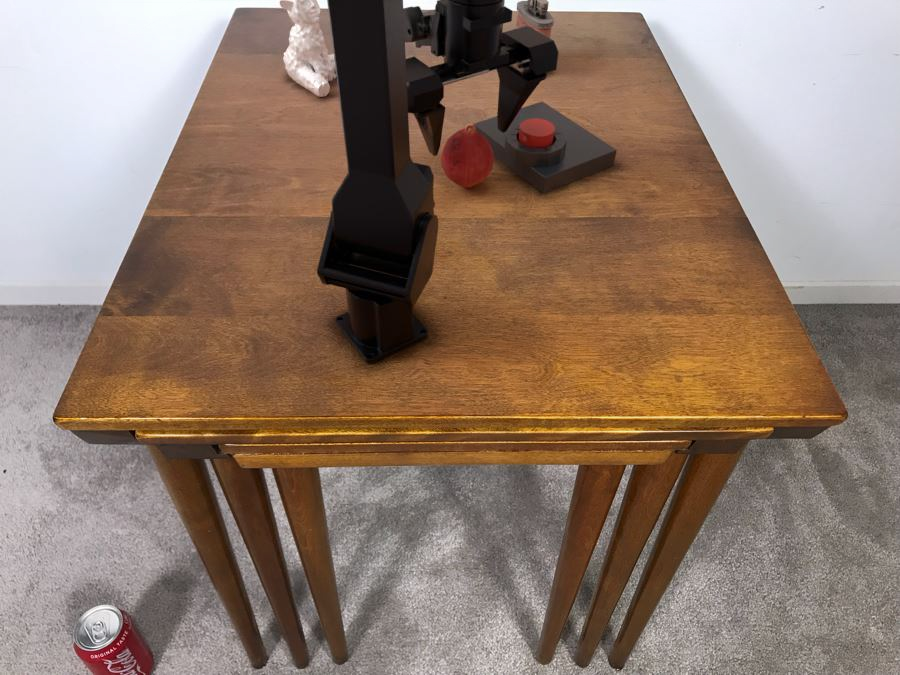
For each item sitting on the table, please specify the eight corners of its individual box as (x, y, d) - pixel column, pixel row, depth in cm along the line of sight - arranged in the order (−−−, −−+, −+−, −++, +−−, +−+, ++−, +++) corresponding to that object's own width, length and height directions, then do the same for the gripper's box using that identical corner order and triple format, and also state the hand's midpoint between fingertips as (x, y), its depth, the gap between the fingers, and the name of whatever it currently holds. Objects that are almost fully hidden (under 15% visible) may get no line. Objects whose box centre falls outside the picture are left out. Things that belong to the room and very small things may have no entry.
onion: (448, 204, 80) (450, 140, 74) (435, 176, 84) (435, 113, 78) (497, 197, 81) (503, 133, 75) (482, 170, 85) (486, 107, 79)
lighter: (552, 73, 103) (561, 1, 96) (531, 77, 102) (539, 5, 95) (528, 50, 108) (535, -20, 101) (507, 53, 107) (513, -17, 100)
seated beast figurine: (323, 100, 96) (313, 8, 87) (269, 87, 98) (253, -4, 90) (357, 71, 102) (351, -17, 93) (305, 59, 104) (294, -28, 96)
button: (560, 143, 83) (562, 129, 81) (533, 153, 81) (534, 139, 80) (538, 128, 85) (540, 115, 84) (511, 137, 83) (512, 124, 82)
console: (613, 165, 86) (619, 136, 83) (536, 196, 81) (540, 166, 78) (540, 116, 94) (543, 87, 91) (466, 141, 89) (467, 112, 86)
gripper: (502, -48, 76) (493, 91, 87) (346, -14, 68) (358, 133, 79) (571, -14, 69) (551, 131, 80) (407, 27, 62) (411, 181, 73)
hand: (468, 142), depth 78 cm, fingers open, 9 cm apart
